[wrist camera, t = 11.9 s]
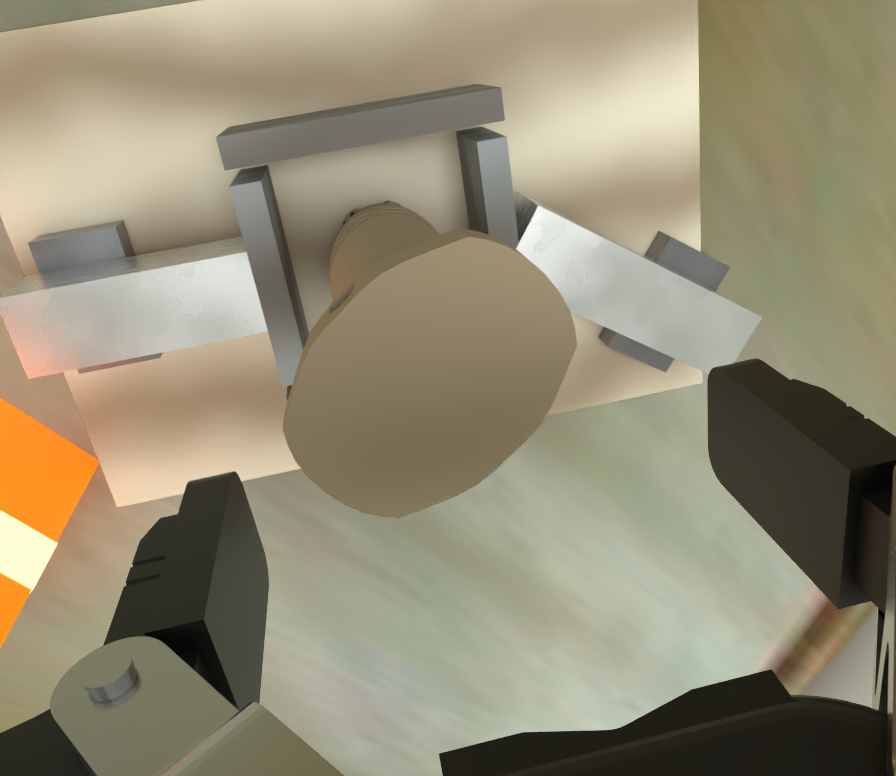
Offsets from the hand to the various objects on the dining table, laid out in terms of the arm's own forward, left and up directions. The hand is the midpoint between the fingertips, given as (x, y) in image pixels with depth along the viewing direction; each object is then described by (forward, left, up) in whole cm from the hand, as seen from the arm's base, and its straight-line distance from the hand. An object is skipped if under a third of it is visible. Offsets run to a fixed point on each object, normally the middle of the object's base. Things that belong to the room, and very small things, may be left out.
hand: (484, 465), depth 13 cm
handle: (0, 0, -18) cm, 18 cm away
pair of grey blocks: (+3, 0, -18) cm, 18 cm away
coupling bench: (0, 0, -19) cm, 19 cm away
